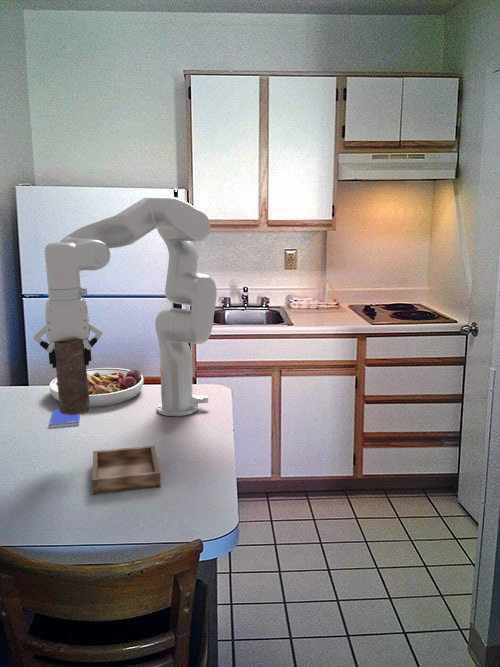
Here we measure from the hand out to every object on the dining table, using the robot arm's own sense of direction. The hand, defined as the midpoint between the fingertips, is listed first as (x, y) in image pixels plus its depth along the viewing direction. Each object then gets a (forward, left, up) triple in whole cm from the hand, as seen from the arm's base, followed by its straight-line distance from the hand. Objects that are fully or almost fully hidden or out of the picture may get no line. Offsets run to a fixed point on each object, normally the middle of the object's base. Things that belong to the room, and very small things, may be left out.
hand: (71, 364), depth 154 cm
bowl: (-5, -49, -25) cm, 55 cm away
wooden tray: (-12, +14, -24) cm, 30 cm away
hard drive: (+4, -28, -25) cm, 37 cm away
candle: (0, 0, -13) cm, 13 cm away
